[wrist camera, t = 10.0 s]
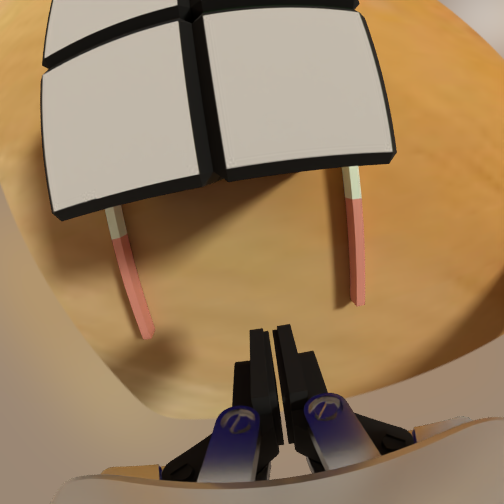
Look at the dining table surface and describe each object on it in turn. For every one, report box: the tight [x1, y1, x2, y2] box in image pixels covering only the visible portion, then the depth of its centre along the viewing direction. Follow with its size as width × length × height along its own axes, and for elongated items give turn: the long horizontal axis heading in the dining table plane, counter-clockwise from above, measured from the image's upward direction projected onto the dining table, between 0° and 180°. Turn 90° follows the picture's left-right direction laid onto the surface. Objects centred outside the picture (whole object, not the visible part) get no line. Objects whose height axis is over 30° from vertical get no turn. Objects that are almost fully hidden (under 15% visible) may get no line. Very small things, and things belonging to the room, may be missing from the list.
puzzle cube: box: [40, 0, 397, 221], centre depth 10 cm, size 10×10×10 cm
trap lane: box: [105, 166, 365, 339], centre depth 14 cm, size 15×24×2 cm, turn 9°
